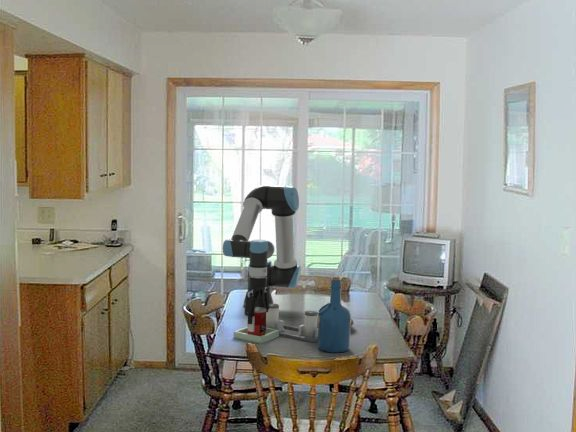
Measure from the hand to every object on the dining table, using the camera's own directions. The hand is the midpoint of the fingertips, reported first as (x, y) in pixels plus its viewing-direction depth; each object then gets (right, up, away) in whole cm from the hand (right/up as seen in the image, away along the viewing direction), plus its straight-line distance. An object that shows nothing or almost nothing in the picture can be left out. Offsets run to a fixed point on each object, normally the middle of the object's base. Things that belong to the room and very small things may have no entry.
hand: (256, 329), depth 294 cm
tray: (0, -4, 0) cm, 4 cm away
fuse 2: (+23, -4, +3) cm, 24 cm away
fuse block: (+15, -3, +9) cm, 17 cm away
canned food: (0, -2, 0) cm, 2 cm away
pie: (+32, -3, +20) cm, 38 cm away
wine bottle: (+32, -6, -13) cm, 35 cm away
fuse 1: (+6, -2, +14) cm, 15 cm away
